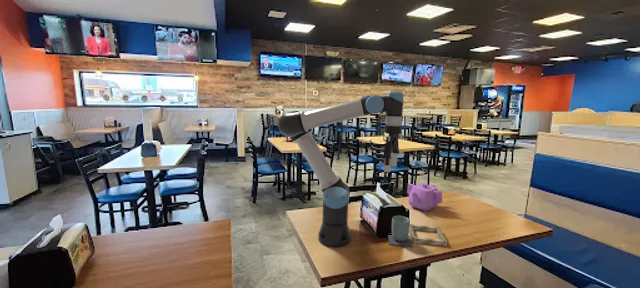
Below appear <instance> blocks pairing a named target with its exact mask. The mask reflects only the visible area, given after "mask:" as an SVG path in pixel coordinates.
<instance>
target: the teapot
mask: <svg viewBox="0 0 640 288" xmlns="http://www.w3.org/2000/svg"><path fill="white" fill-rule="evenodd" d="M406 193H407V195H408V204H409V206H411V207H412V208H413V209H419V210H422V211H423V212H424V213H426V212H428V211H429V210H434V209H435V208H436V207H437V206H438V205H439V204H442V203H443V192H442V191H439V190H438V188H437V187H436V185H434V184H431V185H429V184H428V183H425V182H424V183H420V184H419V183H418V184H416V185H415V184H413V183H410V184H409V183H408V186H407V190H406Z"/></svg>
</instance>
